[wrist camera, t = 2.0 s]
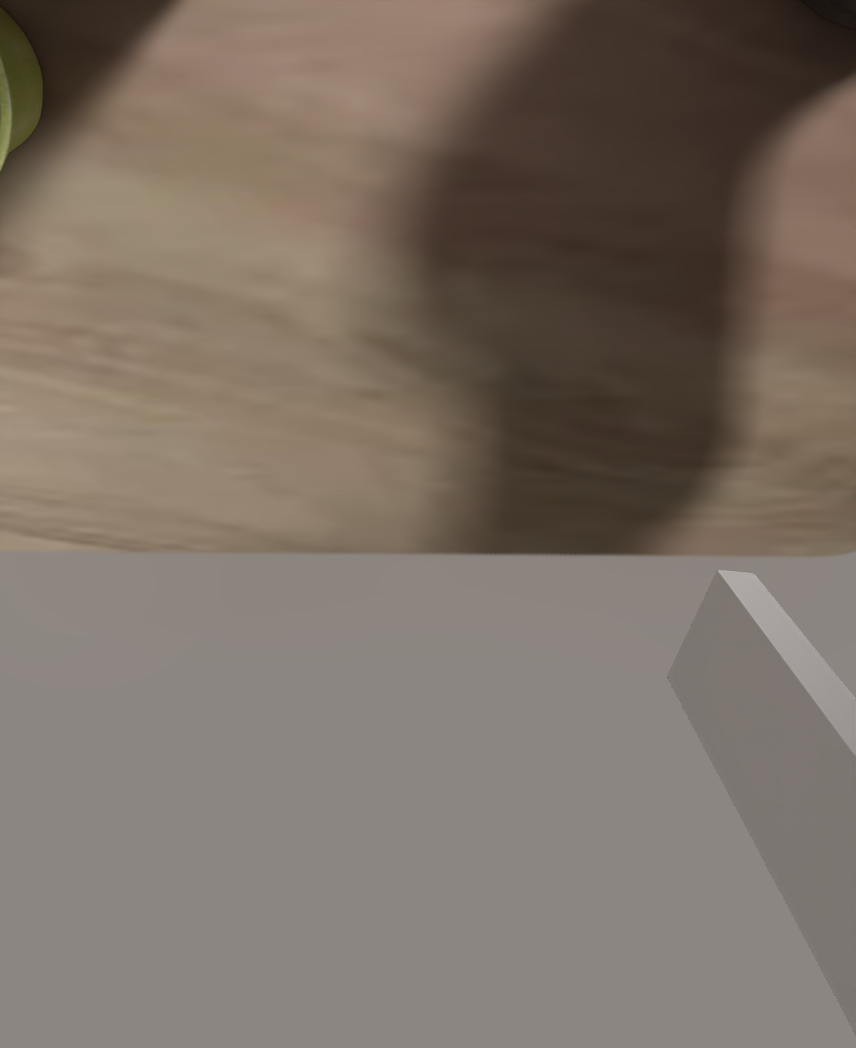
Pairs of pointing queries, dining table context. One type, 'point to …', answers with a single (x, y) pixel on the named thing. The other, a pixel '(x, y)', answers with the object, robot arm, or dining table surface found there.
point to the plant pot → (17, 87)
